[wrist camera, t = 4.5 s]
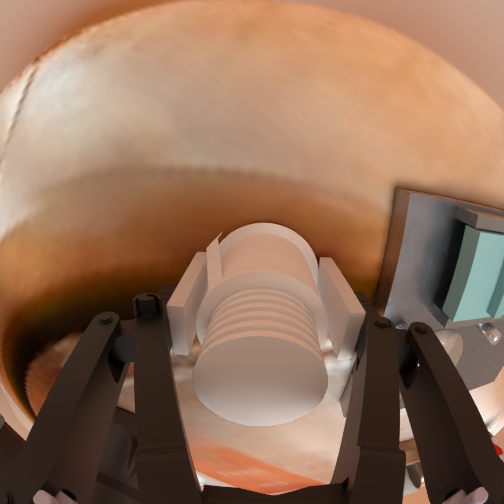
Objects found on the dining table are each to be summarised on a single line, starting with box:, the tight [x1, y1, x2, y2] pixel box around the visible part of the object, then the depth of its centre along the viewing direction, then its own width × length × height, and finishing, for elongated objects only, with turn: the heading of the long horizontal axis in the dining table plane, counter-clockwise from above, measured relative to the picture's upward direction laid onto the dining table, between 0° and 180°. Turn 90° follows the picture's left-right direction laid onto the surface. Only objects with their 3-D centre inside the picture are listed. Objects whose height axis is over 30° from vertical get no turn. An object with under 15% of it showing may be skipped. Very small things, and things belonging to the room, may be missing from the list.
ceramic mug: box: [403, 463, 421, 496], centre depth 27 cm, size 11×8×8 cm
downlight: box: [192, 223, 328, 426], centre depth 13 cm, size 8×7×10 cm
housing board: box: [340, 188, 504, 417], centre depth 17 cm, size 22×20×5 cm
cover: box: [442, 225, 504, 322], centre depth 13 cm, size 8×6×2 cm
